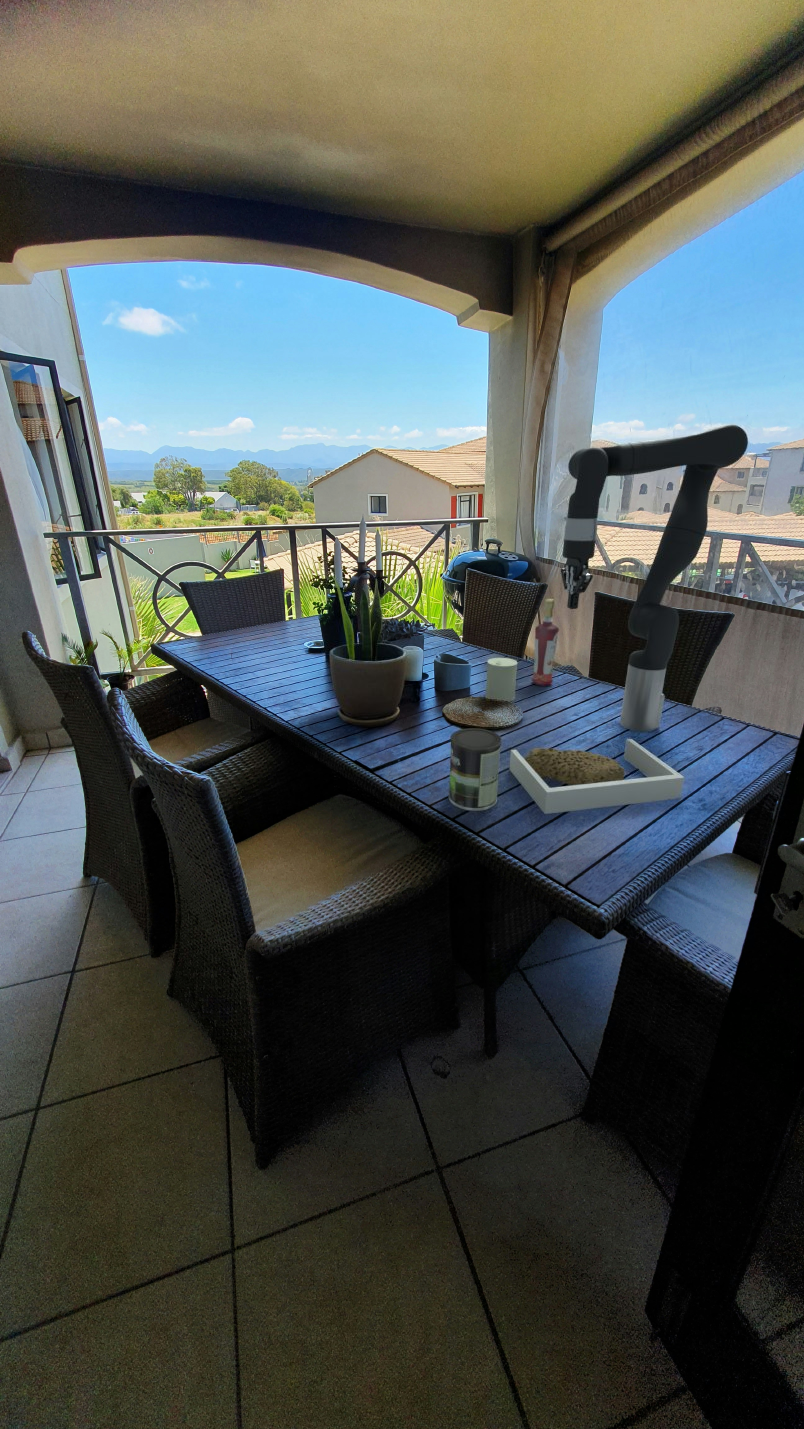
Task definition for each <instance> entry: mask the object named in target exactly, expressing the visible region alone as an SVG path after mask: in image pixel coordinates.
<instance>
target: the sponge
mask: <svg viewBox="0 0 804 1429" xmlns="http://www.w3.org/2000/svg"><path fill="white" fill-rule="evenodd" d="M524 759H525V761H526V762H527V763H528V764H529V765H530V766H531V767H532V769H533V770H534V771H535V772H536V773H537V774H538V775H539V777H540V778H541V779H548V780H552V781H553V782H559V783H562V784H567V785H569V786H573V785H582V784H592V783H601V782H610V781H620V780H626V779H625V772H626V769H624V768H623V767H622V766H621V765H620V763H619V762H618V761H617V760H615V759H613V758H609V757H607V756H606V755H601V754H598V753H592V752H590V751H584V750H580V749H577V750H574V749H573V750H572V749H570V750H569V749H566V750H559V749H556V748H541V747H536V748H535V747H534V748H532V749H531V750H530V751H529V753H528V754H527V755H525V757H524Z"/></svg>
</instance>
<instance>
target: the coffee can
mask: <svg viewBox="0 0 804 1429" xmlns="http://www.w3.org/2000/svg"><path fill="white" fill-rule="evenodd" d="M501 745H502V737H501V736H500V735H499V734H498V733H496V732H495V731H492V730H488V729H485V728H479V727H478V728H477V727H469V728H462V729H459V730H456V731H454V732H453V733H451V734H450V757H449V758H450V760H449V762H450V763H449V786H448V787H449V788H448V790H449V791H448V799H449V802H450V803H451V804H452V805H453V806H455V807H456V808H458V809H461V810H465V811H469V812H480V811H481V812H482V811H485V810H489V809H491V808H493V807H494V806H495V805H496V804H497V801H498V786H499V785H498V784H499V783H498V782H499V773H500V772H499V771H500V758H501Z"/></svg>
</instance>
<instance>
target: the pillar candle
mask: <svg viewBox="0 0 804 1429" xmlns="http://www.w3.org/2000/svg"><path fill="white" fill-rule="evenodd" d="M486 663H487V665H486V669H487V670H486V683H485V685H486V687H485V695H484V696H485V699H487V698H488V699H497V700H504V701H508V702H507V703H509V702H510V703H511V702H512V701H514V700H515V699H516V681H517V670H518V669H517V668H518V661H517V660H515V659H513V658H509V657H493V658H489V659H487V661H486ZM488 699H487V700H488Z"/></svg>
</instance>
